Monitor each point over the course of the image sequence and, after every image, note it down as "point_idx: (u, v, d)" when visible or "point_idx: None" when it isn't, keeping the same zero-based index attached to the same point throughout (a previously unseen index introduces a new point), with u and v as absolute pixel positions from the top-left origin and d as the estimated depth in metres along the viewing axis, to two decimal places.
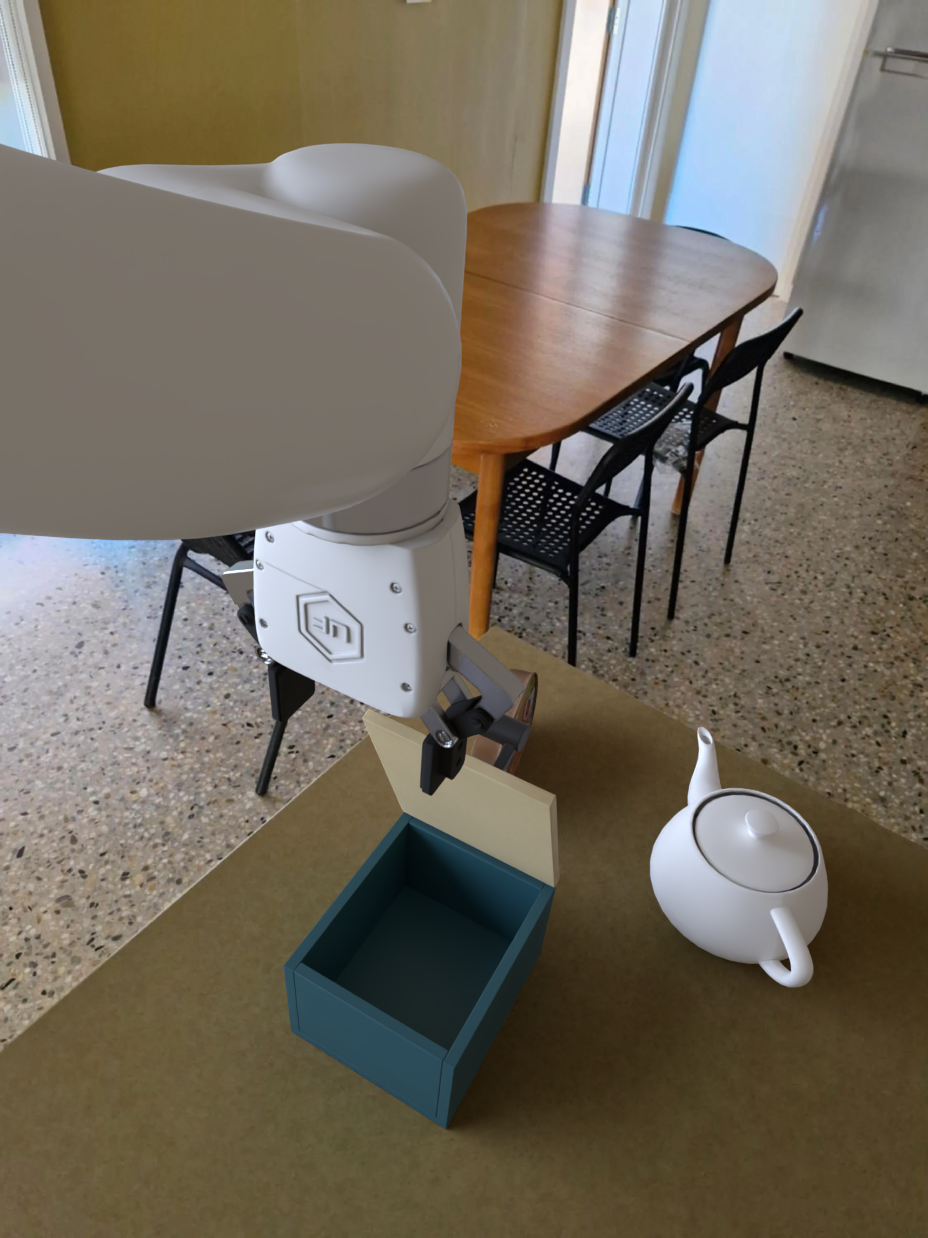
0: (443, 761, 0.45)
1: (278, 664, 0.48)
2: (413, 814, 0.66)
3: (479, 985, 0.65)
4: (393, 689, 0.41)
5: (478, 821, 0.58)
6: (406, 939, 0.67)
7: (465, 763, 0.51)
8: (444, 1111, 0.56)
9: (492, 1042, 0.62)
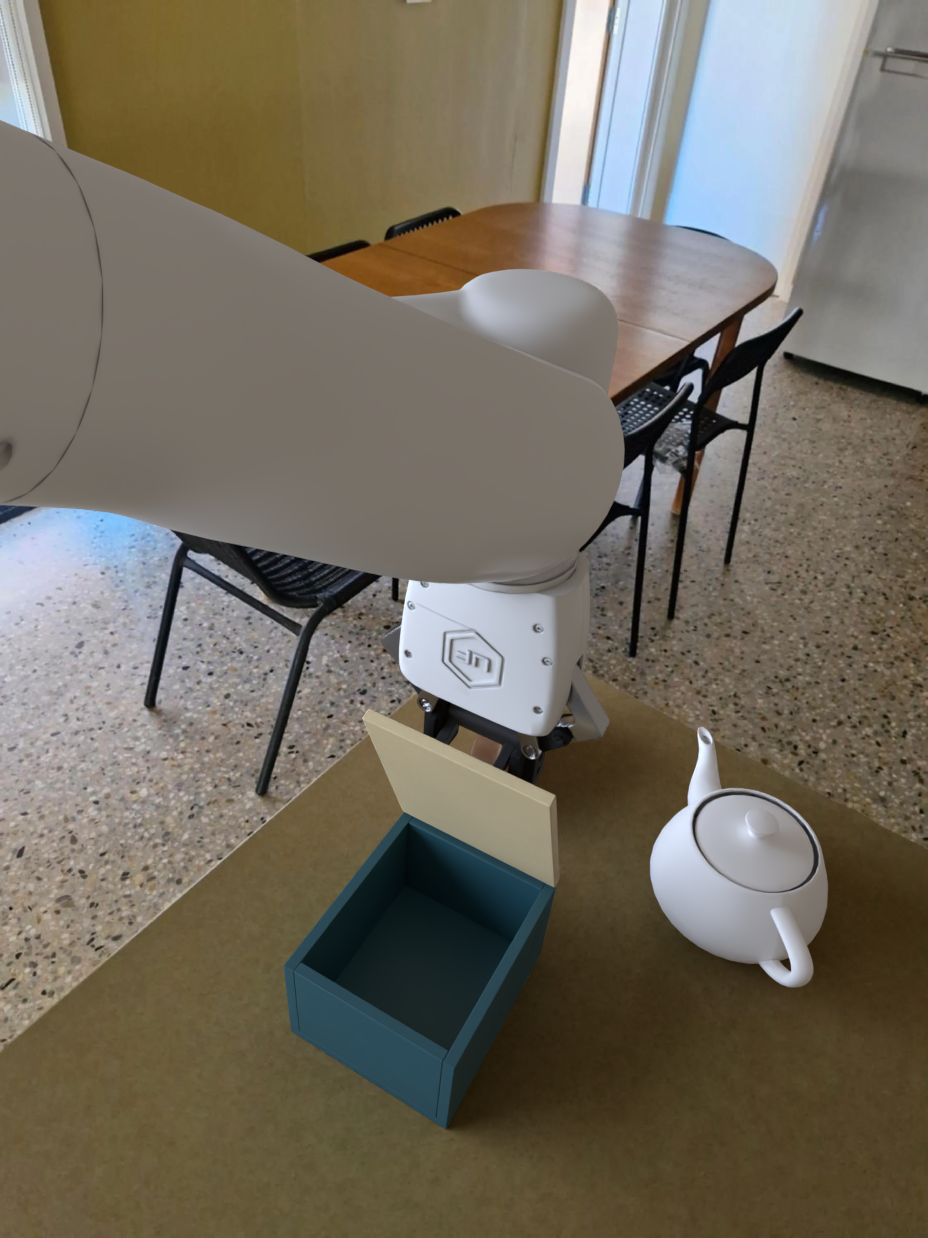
0: (526, 770, 0.54)
1: (436, 711, 0.55)
2: (413, 814, 0.66)
3: (479, 985, 0.65)
4: (525, 711, 0.48)
5: (478, 821, 0.58)
6: (406, 939, 0.67)
7: (465, 763, 0.51)
8: (444, 1111, 0.56)
9: (492, 1042, 0.62)
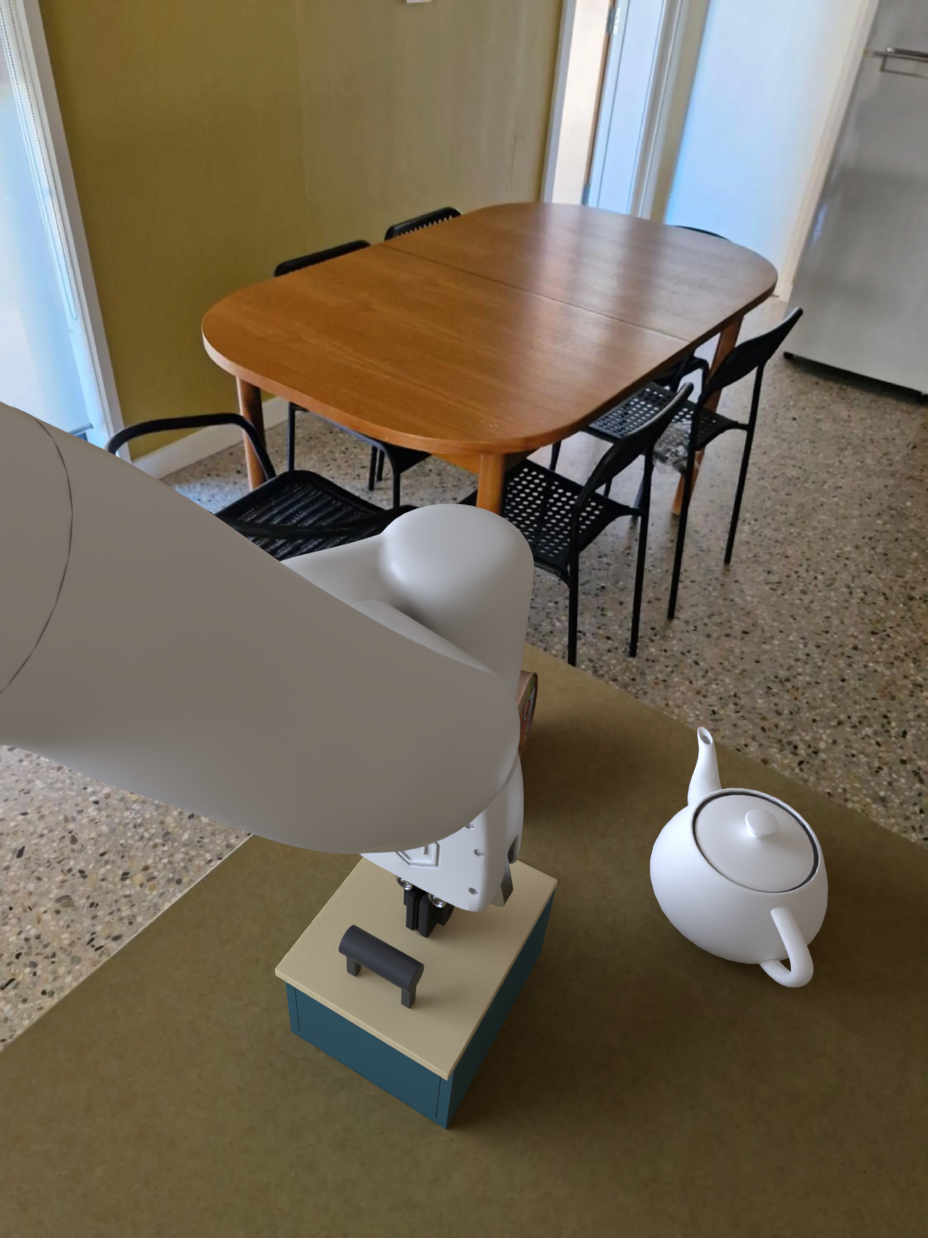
0: (436, 913, 0.57)
1: (415, 889, 0.56)
2: None
3: None
4: (462, 891, 0.50)
5: None
6: None
7: (368, 1031, 0.54)
8: (444, 1111, 0.56)
9: (492, 1042, 0.62)
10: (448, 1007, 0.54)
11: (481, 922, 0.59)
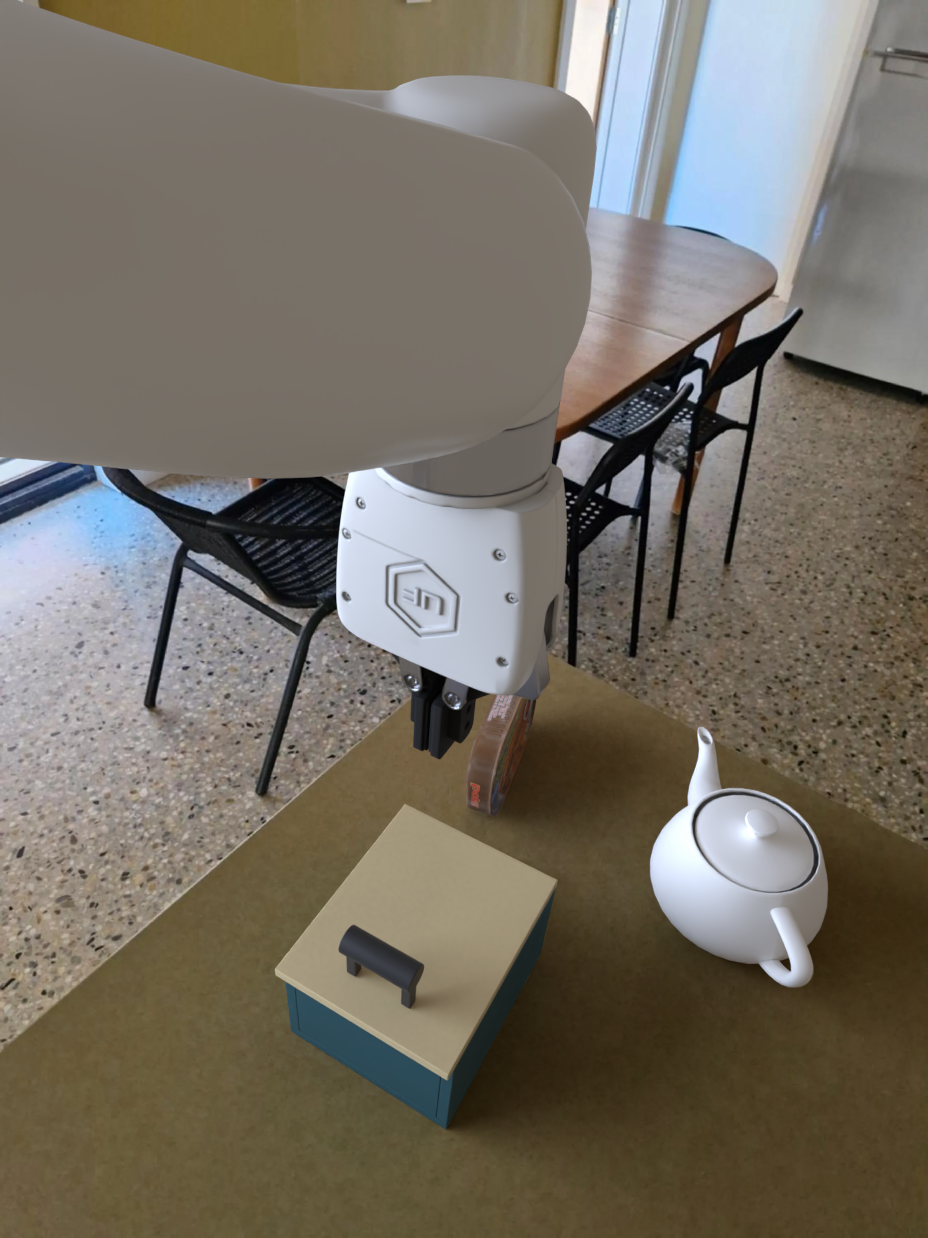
0: (451, 724, 0.46)
1: (425, 691, 0.45)
2: None
3: None
4: (487, 664, 0.39)
5: None
6: None
7: (368, 1031, 0.54)
8: (444, 1111, 0.56)
9: (492, 1042, 0.62)
10: (448, 1007, 0.54)
11: (481, 922, 0.59)
